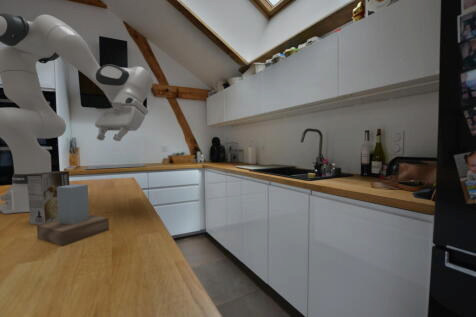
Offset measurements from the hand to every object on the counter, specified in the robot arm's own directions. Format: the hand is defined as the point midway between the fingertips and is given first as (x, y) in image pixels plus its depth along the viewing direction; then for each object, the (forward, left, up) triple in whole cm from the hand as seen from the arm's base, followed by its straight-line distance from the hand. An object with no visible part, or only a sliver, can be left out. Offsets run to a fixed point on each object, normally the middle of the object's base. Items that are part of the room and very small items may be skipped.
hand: (107, 139), depth 76 cm
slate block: (+3, -13, -23) cm, 27 cm away
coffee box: (-17, -9, -27) cm, 33 cm away
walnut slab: (+3, -13, -27) cm, 30 cm away
